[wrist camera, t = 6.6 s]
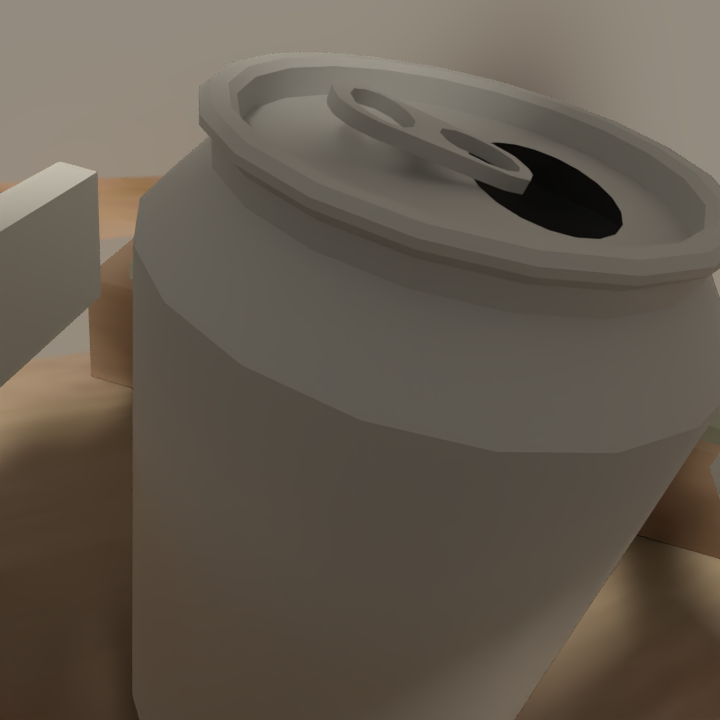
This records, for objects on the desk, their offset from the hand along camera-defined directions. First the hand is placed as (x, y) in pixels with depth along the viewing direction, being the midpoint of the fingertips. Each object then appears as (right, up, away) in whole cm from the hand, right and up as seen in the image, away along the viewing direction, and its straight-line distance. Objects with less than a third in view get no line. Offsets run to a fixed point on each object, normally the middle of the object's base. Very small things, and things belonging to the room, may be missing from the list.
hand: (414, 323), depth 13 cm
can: (-2, -8, +2) cm, 8 cm away
